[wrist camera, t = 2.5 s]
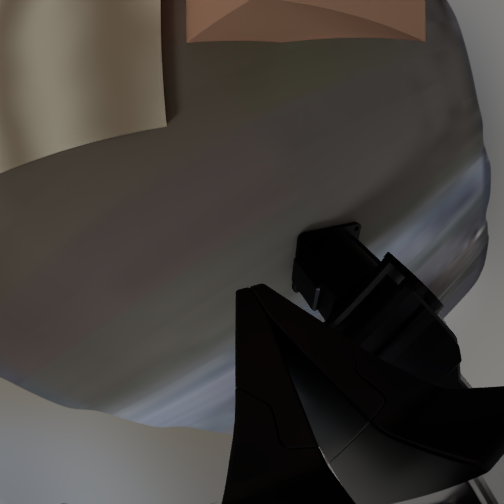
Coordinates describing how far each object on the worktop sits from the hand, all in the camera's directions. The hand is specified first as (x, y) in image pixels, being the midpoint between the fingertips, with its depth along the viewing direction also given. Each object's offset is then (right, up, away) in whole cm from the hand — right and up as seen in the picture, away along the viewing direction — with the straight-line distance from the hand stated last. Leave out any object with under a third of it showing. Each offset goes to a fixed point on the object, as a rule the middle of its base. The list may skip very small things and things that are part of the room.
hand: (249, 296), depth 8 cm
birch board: (-13, +15, -2) cm, 20 cm away
